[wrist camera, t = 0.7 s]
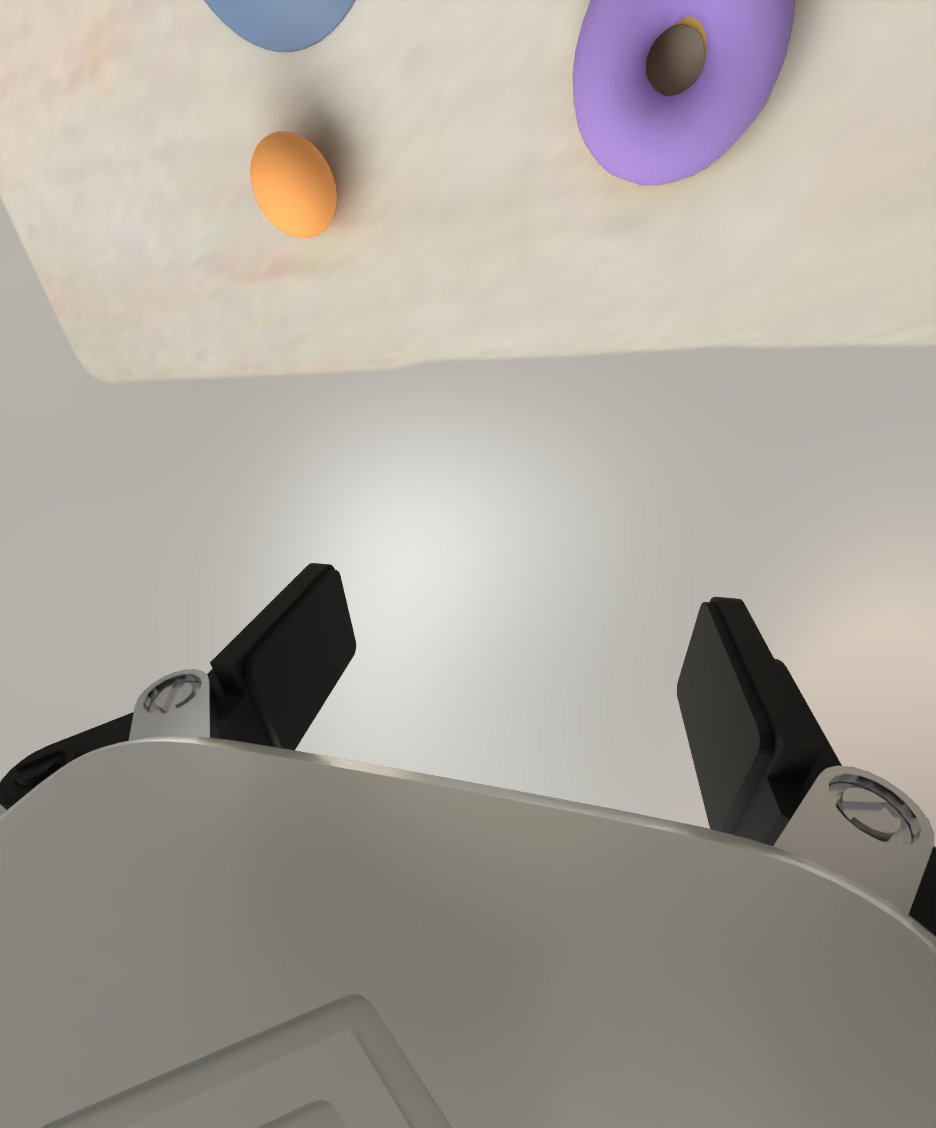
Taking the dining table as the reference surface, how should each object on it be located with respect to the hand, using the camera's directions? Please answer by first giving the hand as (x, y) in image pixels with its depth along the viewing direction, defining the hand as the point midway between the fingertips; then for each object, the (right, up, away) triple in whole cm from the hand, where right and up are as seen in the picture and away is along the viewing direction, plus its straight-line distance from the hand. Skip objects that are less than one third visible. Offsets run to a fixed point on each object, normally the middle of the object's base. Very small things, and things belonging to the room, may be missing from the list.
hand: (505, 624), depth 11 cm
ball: (-12, +25, +15) cm, 32 cm away
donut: (+10, +28, +12) cm, 32 cm away
